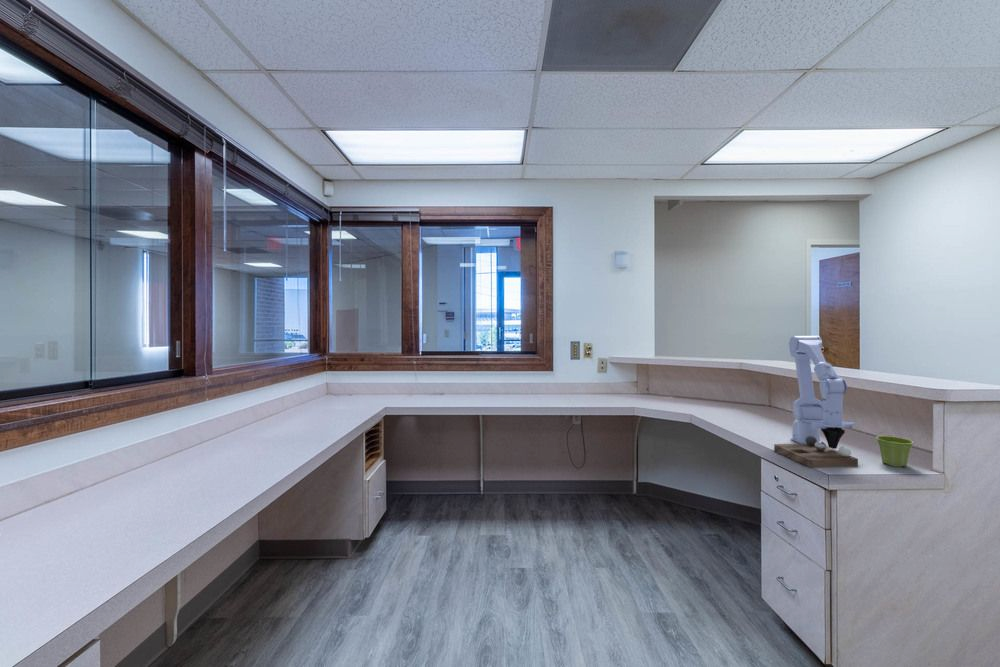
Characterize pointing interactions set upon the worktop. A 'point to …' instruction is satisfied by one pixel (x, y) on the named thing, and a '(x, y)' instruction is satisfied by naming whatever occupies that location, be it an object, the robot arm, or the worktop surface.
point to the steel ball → (820, 446)
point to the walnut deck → (815, 455)
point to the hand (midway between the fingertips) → (832, 447)
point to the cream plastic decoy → (844, 451)
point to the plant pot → (894, 450)
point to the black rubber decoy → (811, 440)
